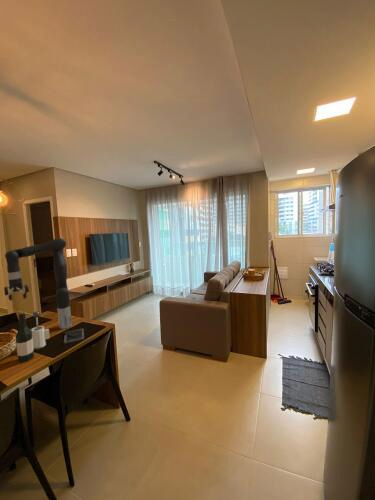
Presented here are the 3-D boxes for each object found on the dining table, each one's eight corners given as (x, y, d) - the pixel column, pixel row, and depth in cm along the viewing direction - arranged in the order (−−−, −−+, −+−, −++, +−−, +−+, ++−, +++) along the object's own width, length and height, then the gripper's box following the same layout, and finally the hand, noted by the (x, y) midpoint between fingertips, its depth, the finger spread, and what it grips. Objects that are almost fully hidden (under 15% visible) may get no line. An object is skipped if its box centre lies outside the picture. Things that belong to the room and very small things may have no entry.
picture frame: (65, 334, 168) (63, 344, 152) (64, 331, 168) (63, 342, 152) (83, 330, 174) (84, 339, 158) (83, 327, 174) (84, 337, 158)
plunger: (42, 327, 153) (40, 310, 152) (41, 330, 148) (40, 312, 147) (33, 329, 150) (32, 312, 149) (32, 332, 146) (30, 314, 144)
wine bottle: (24, 355, 139) (19, 311, 137) (37, 354, 140) (32, 310, 137) (14, 363, 131) (9, 316, 128) (29, 362, 132) (24, 315, 129)
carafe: (50, 341, 157) (48, 324, 156) (49, 345, 150) (47, 328, 149) (33, 345, 152) (31, 327, 151) (32, 350, 145) (30, 332, 144)
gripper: (28, 275, 161) (31, 296, 163) (6, 278, 157) (9, 299, 159) (23, 277, 154) (27, 299, 155) (0, 280, 150) (3, 302, 152)
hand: (18, 299), depth 157 cm, fingers open, 8 cm apart
